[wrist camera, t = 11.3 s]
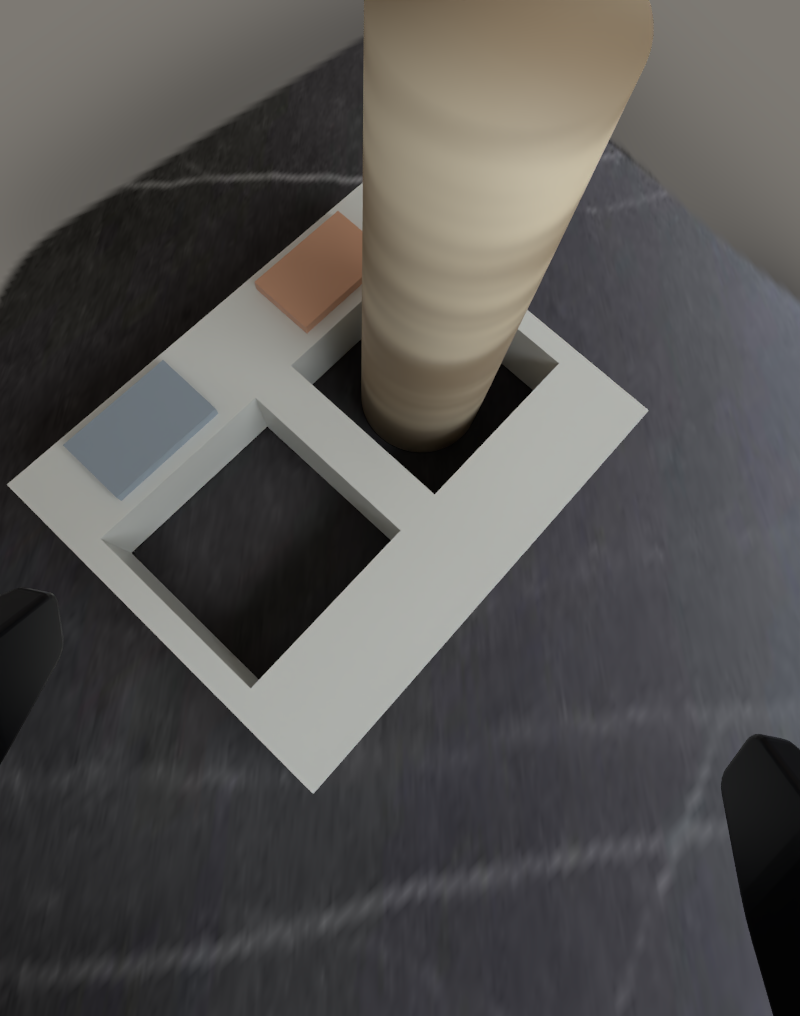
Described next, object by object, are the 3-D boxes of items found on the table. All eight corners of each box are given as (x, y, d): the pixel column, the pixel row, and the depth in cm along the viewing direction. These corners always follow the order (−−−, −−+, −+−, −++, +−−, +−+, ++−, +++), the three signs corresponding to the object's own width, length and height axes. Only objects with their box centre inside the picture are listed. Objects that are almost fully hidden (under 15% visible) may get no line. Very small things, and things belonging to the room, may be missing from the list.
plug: (469, 462, 22) (643, 152, 9) (351, 440, 22) (337, 92, 8) (485, 355, 23) (662, -69, 10) (372, 334, 23) (391, -125, 10)
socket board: (319, 777, 19) (311, 797, 16) (48, 504, 21) (-1, 480, 18) (618, 436, 23) (654, 405, 20) (367, 226, 24) (368, 169, 21)
